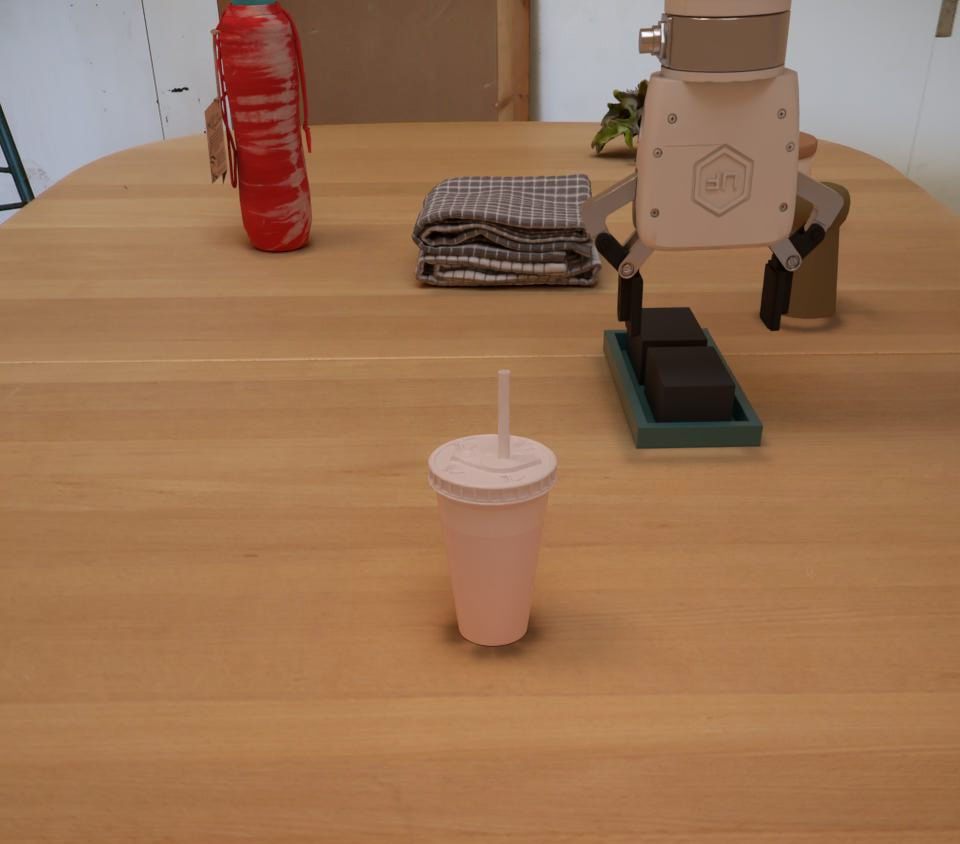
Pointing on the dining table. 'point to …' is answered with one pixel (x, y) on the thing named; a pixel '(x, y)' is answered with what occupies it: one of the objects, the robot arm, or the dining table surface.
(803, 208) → the pepper mill
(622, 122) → the green leafy plant
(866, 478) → the dining table surface
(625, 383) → the tray
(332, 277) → the dining table surface
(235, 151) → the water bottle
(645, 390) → the black rectangular block
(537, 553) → the smoothie
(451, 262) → the towel
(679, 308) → the dark brown rectangular block
